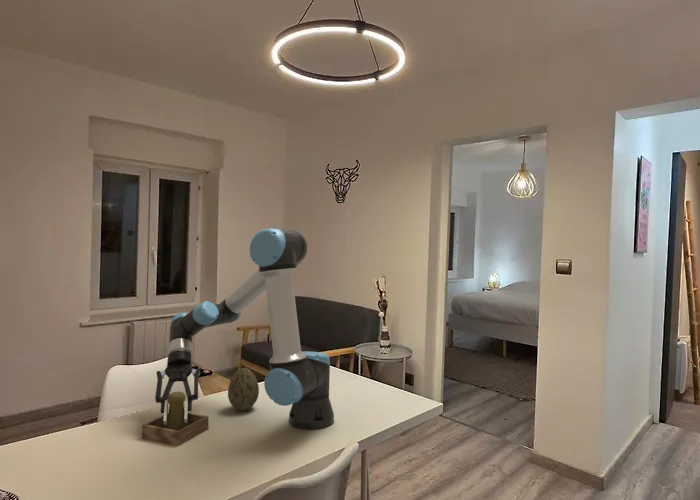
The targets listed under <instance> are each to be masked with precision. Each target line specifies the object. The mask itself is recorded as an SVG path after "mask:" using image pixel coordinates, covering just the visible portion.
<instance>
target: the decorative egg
mask: <svg viewBox="0 0 700 500" xmlns="http://www.w3.org/2000/svg"><path fill="white" fill-rule="evenodd" d="M229 382H230V383H229V385H228V389H227V397H228V401H229V403H230V405H231V406H232V407H233V408H234V409H235V410H238V411H247V410H249V409H251V408H252V407H253V406H254V405H255V404H256V403H257V400H258V398H259V394H260V387H259V386H260V385H259V382H258V380H257V378H256V375H255V374H254V372H253V371H252V370H251V369H250V368H247V367H242V368H239V369H238V370H237V371H236V372H235V373H234V374H233V375H232V377H231V379H230V381H229Z"/></svg>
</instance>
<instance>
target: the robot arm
mask: <svg viewBox="0 0 700 500" xmlns="http://www.w3.org/2000/svg"><path fill="white" fill-rule="evenodd" d="M249 254H250V255H249V256H250V258H251V261H252V262H254V263H255V264H256V265H257V266H258V267H257V269H255V270H254V272H252V274H250V275H249V276H248V277H247V278H246V279H245V280H244V281H242V283H240V284H239V285H238V286H237V287H236V288H235V289H234V290H233V291H232V292H231V293H230V294H229V295H228V296H226V297H225V298H224V299H223V300H222V301H220V303H216V304H215V303H213V302H210V301H207V300H205V301H202V302H201V303H200V304H197V306H195V307H194V308H193V309H191V310H190V311H189V312H188V313H185V312H182V313H179V314H178V313H176V314H175V315H173V316H172V318H171V321H170V326H169V340H168V351H167V355H168V356H167V361H166V367H165V369H164V370H162V371H160V370H157V371H156V378H157V382H156V387H155V388H156V389H155V395H154V398H155V403H156V404H160V413H161V414H163V415H164V419H163V422H164V425H167V414H168V412H169V403H168V396H169V394H171V392H172V388H173V386H174V383H177V382H183V383H182V384H183V387H184V390H185V391H184V392H185V396H186V398H185V401H184V410H185V414H184V422H185V423H187V417H188V413H189V412H191V411H192V409H193V408H192V406H193V401H196V400H198V399H199V378H200V375H201V369H200V368H197V369H195V368H193V366H192V355H193V350H192V349H193V337H195V335H197V334H199V332H201V331H202V330H204V329H206V328H210V327H215V326H219V325H224V324H232V323H233V322H236V321H239V318H240V317H241V315H242V311H244V310H245V309H246V308H247V307H248V306H250V305H251V303H253V302H254V301H255V300H256V299H257V298H259V296H261V295H262V294H263V293H264V292H265V291H266V299H267V308H268V309H267V310H268V317H269V328H270V334H271V335H270V337H271V344H272V352H273V353H272V357H271V358H270V359H269V371H268V372H267V374H266V375H265V378H264V383H263V384H264V385H263V386H264V390H265V392H266V395H267V396H268V398H269V399H271V401H273V403H274V404H276V405H279V406H284V407H285V406H291V407H290V411H289V415H288V423H289V424H290V425H291V426H293V427H294V428H299V429H305V430H316V429H317V430H318V429H323V428H326V427H329V426H331V425H333V423H334V421H335V414H334V409H333V406H332V403H331V400H330V378H331V377H330V373H331V369H330V368H331V363H330V362H331V361H330V355H329V354H327V353H324V352H318V351H309V350H307V351H302V346H301V340H300V339H301V338H300V332H299V331H300V329H299V321H298V320H299V319H298V314H297V313H298V312H297V305H296V304H297V303H296V295H295V288H294V279H293V278H294V277H293V275H294V273H295V272H296V271H297V267H298V266H299V265H300V264H301V263H302V262H303V261H304V259H305V258H306V256H307V254H308V242H307V240H306V238H305V236H304V235H303V234H301V233H300V232H299V231H296V230H294V229H283V228H276V227H274V228H272V227H271V228H263V229H261V230H259V231H258V232H257V233H255V234H254V236H253V238H252V239H251V241H250V245H249ZM191 374H192V376H193V394H192V391H191V389H190V388H191V387H190V385H189V381H188V378H189V376H190V375H191ZM165 376H166V377H168V381H167V384H166V385H165V388H164V392H163V394H162V389H163V388H162V386H163V379H164V378H165Z"/></svg>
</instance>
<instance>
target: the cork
mask: <svg viewBox="0 0 700 500" xmlns="http://www.w3.org/2000/svg"><path fill="white" fill-rule="evenodd" d="M185 399H186V393H184V392H182V391H173V392H170V393H169V396H168V399H167V400H168V419H167V426H166V428H167V429H172V430H177V431H179V430H181V429H183V428H185V427H187V426H186V423H185V422H184V414H185Z"/></svg>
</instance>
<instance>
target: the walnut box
mask: <svg viewBox="0 0 700 500" xmlns="http://www.w3.org/2000/svg"><path fill="white" fill-rule="evenodd" d="M163 419H164V414H163V415H161V416H159V417H157V418H155V419H153V420H151V421H148V422H146V423H144V424H142V431H141V432H142V433H141V434H142V435H141V438H142V439H144V440H149V441H153V442H158V443H163V444H167V445H173V446H177V447H179V446H181V445H182V444H185V443H186V442H188V441H190V440H192V439H193V438H195V437H197V436H199V435H200V434H202V433H205V432H206V431H207V430H209V416H208V415H202V414H197V413H190V412H188V417H187V423H186V426H187V427H185V428H183V429H181V430H179V431H177V430H172V429H167V428H166V426H167V425H164V422H163ZM167 419H168V414H167Z"/></svg>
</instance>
